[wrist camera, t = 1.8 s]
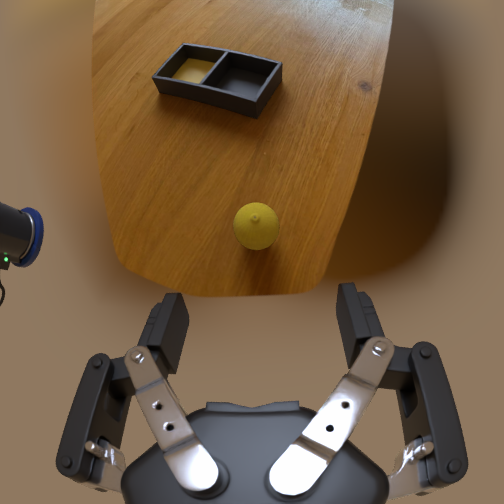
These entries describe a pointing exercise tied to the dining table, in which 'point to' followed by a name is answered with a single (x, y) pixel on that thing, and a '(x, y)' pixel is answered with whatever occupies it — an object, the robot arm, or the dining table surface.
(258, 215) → the lemon
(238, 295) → the dining table surface
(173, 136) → the dining table surface
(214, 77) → the sorter
